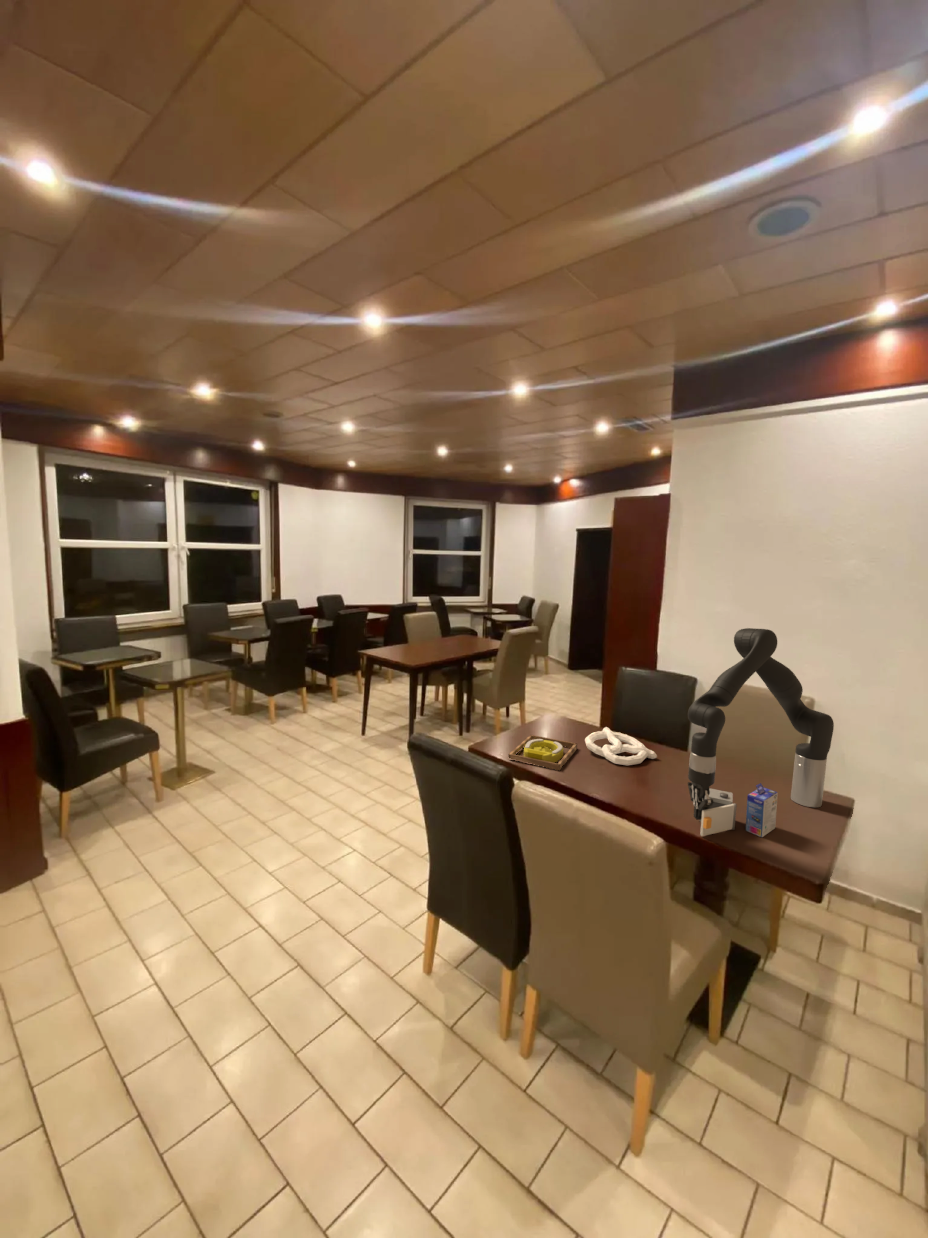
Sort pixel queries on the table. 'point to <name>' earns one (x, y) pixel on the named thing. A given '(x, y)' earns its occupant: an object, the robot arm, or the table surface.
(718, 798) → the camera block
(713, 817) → the door
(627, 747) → the pretzel
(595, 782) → the table surface
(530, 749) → the ashtray
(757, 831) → the ink cartridge box
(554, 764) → the wooden tray
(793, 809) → the table surface
